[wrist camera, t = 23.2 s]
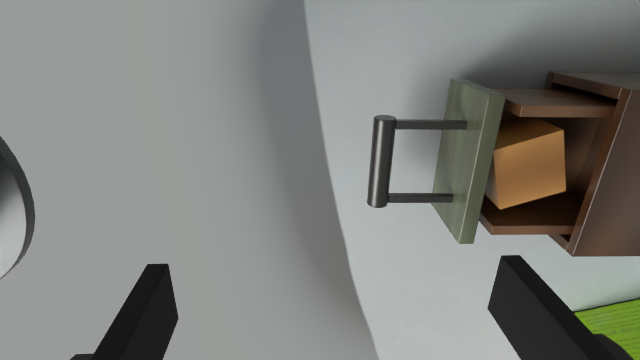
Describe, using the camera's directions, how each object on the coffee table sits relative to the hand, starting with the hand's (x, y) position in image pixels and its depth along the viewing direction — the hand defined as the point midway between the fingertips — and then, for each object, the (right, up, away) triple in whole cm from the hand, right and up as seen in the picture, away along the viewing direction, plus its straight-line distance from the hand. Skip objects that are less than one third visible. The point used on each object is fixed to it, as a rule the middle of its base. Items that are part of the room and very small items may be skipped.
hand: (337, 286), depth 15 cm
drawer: (+13, +7, +18) cm, 23 cm away
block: (+14, +7, +17) cm, 23 cm away
